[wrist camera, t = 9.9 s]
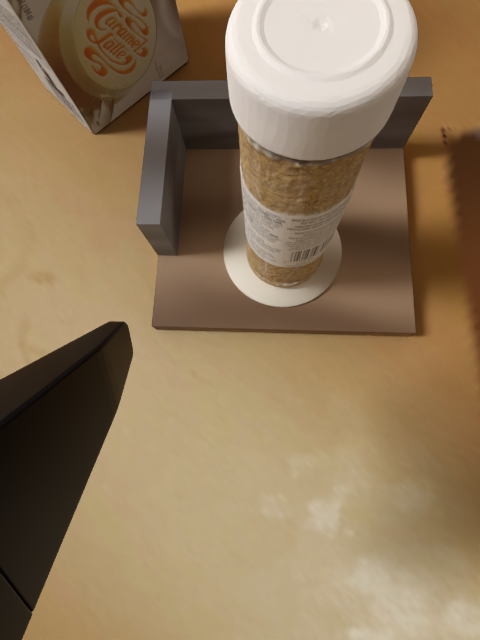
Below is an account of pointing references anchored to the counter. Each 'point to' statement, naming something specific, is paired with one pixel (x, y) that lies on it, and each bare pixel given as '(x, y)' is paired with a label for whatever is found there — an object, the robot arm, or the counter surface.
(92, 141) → the counter surface
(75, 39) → the coffee box
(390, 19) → the sprinkles bottle
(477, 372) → the counter surface
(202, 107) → the corner arena
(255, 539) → the counter surface
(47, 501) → the robot arm
